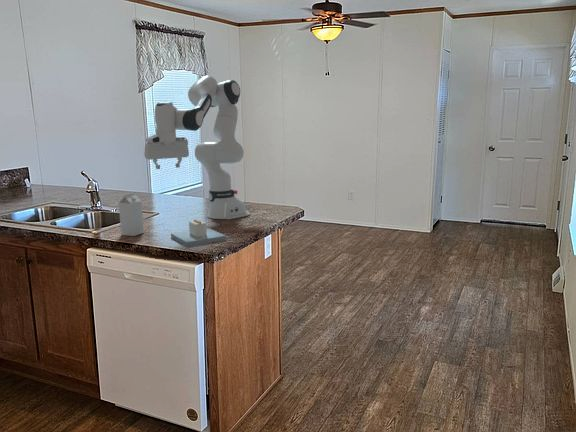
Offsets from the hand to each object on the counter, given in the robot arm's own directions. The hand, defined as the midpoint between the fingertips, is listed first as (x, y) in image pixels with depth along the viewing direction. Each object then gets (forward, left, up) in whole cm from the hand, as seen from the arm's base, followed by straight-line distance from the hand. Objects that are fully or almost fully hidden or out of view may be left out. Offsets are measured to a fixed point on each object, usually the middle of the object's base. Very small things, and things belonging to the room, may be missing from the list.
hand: (168, 168), depth 235 cm
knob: (-3, +24, -27) cm, 36 cm away
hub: (-3, +24, -29) cm, 38 cm away
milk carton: (+18, -2, -29) cm, 34 cm away
